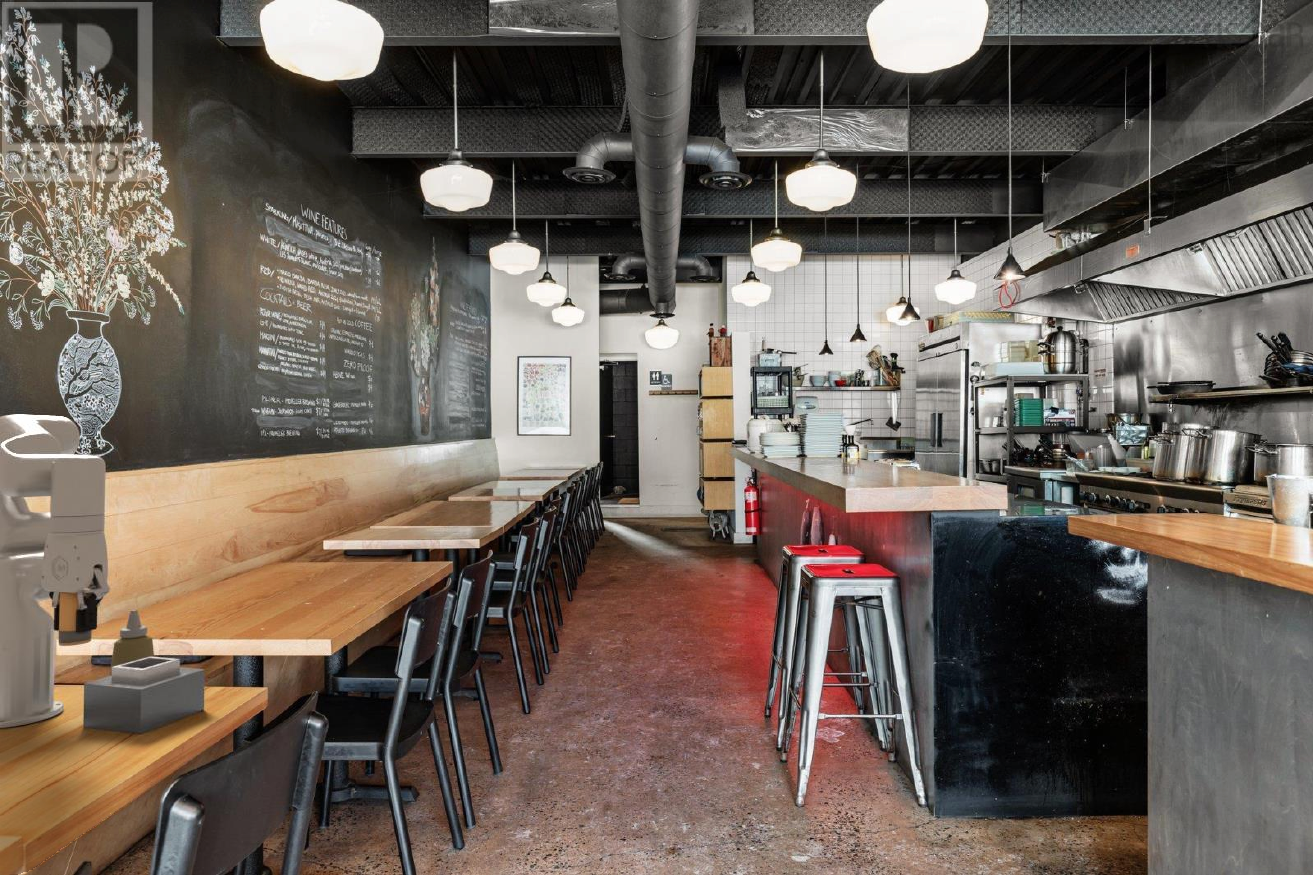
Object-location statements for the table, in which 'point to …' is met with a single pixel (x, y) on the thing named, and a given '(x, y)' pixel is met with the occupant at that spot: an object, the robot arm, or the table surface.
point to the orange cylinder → (70, 621)
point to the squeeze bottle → (132, 642)
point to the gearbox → (143, 696)
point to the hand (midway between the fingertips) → (75, 628)
